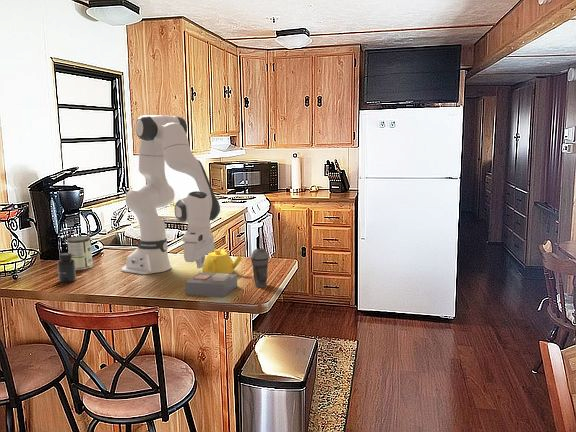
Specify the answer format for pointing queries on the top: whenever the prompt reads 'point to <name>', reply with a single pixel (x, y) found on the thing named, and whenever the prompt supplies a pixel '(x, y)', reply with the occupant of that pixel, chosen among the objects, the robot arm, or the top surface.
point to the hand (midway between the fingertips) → (200, 267)
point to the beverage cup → (260, 266)
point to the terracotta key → (202, 277)
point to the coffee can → (80, 251)
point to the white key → (220, 277)
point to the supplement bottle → (66, 268)
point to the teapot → (220, 262)
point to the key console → (211, 286)
